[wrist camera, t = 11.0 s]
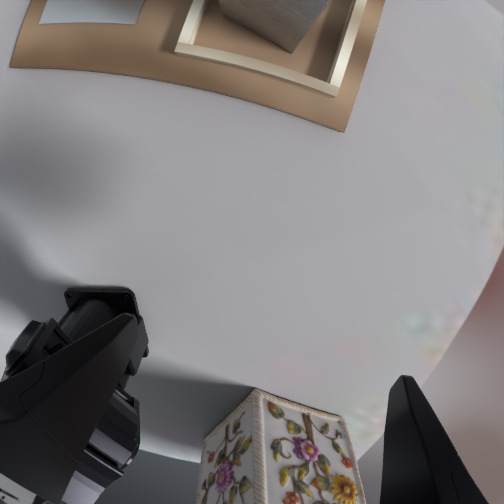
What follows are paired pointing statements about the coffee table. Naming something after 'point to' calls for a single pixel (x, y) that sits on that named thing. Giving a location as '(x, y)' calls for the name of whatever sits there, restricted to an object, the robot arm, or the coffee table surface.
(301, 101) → the wooden board
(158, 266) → the coffee table surface
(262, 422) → the decorative jar
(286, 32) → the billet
